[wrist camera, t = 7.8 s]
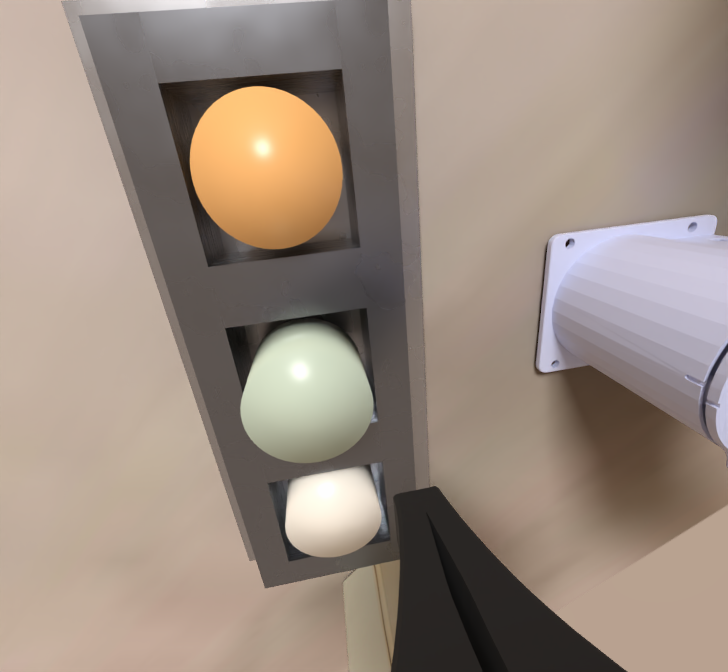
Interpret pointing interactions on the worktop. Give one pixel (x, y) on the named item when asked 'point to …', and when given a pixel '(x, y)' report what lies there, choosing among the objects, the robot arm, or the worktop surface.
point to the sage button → (306, 393)
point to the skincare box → (371, 616)
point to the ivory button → (332, 511)
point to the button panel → (276, 266)
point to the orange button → (266, 167)
